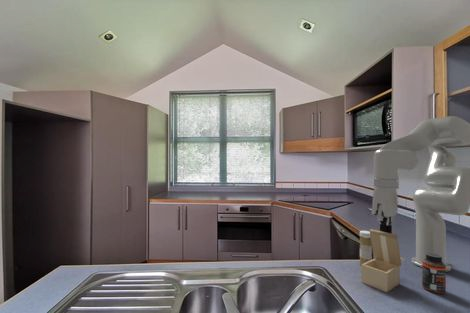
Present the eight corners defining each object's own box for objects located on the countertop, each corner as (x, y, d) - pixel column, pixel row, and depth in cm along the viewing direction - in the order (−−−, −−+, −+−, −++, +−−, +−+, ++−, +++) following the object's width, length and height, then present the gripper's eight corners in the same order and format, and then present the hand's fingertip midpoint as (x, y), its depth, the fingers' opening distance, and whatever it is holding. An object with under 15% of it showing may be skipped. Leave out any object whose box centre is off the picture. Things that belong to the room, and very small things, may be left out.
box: (374, 274, 88) (374, 258, 89) (399, 283, 82) (399, 266, 82) (361, 282, 82) (361, 264, 83) (387, 292, 76) (387, 273, 76)
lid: (374, 258, 89) (375, 256, 89) (400, 266, 82) (401, 264, 83) (369, 230, 87) (370, 228, 88) (395, 235, 80) (397, 233, 81)
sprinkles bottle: (361, 262, 100) (361, 229, 100) (373, 265, 97) (373, 231, 97) (357, 265, 97) (358, 231, 97) (370, 268, 94) (370, 234, 94)
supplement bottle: (439, 296, 75) (438, 259, 75) (418, 287, 80) (418, 252, 80) (449, 292, 77) (449, 256, 77) (428, 284, 82) (428, 250, 83)
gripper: (383, 182, 93) (383, 230, 93) (365, 183, 84) (364, 236, 84) (406, 184, 87) (406, 235, 87) (388, 185, 78) (388, 242, 78)
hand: (385, 235), depth 85 cm, fingers closed
